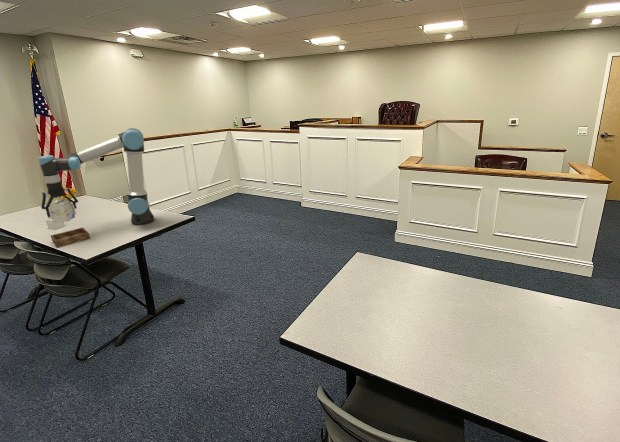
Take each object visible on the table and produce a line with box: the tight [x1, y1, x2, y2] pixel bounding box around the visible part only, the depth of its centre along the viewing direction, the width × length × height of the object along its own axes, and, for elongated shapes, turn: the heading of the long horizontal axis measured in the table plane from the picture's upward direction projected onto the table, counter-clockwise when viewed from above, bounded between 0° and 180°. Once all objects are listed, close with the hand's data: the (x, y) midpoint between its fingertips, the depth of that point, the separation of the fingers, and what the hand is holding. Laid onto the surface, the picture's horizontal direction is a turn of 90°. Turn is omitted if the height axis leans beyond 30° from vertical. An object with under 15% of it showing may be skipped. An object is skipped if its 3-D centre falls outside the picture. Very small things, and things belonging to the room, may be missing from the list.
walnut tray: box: [50, 227, 91, 249], centre depth 220 cm, size 18×15×4 cm
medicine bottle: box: [44, 213, 65, 230], centre depth 243 cm, size 7×7×12 cm
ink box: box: [49, 197, 76, 223], centre depth 213 cm, size 9×8×13 cm
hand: (63, 216), depth 215 cm, fingers closed on ink box, 11 cm apart
